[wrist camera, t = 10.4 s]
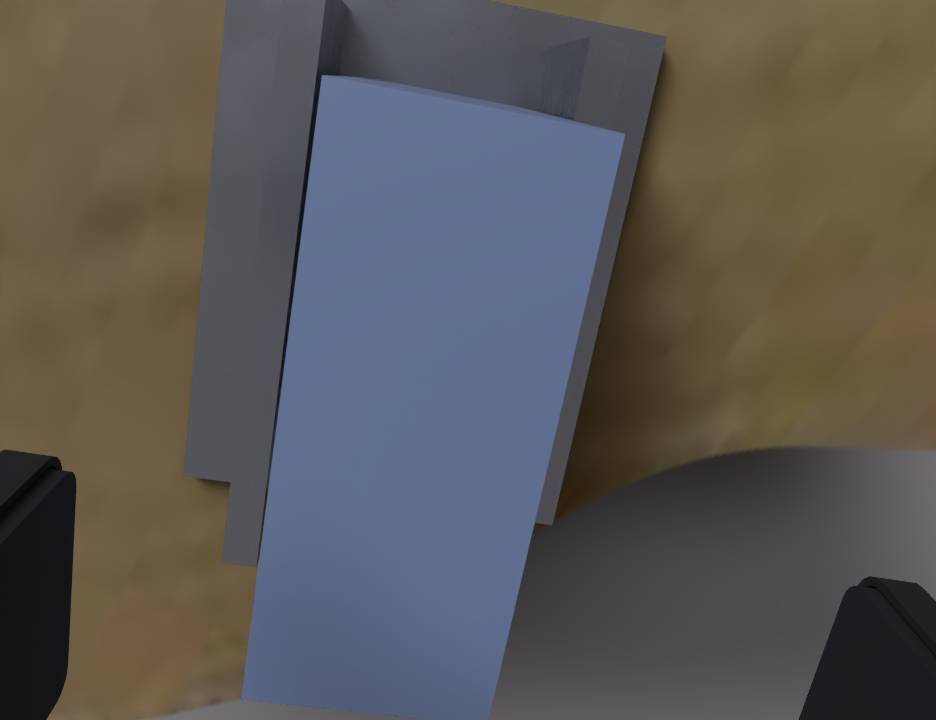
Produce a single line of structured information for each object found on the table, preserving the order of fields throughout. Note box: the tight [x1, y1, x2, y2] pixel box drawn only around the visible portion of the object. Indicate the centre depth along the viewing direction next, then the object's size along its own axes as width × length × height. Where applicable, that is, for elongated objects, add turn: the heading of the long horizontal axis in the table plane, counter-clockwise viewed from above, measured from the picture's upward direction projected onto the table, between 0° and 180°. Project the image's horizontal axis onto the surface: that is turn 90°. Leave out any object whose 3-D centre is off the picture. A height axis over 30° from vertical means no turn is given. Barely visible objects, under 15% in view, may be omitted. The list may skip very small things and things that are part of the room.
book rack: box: [183, 0, 667, 567], centre depth 27 cm, size 14×18×8 cm
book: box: [241, 75, 625, 720], centre depth 23 cm, size 5×12×15 cm, turn 169°
